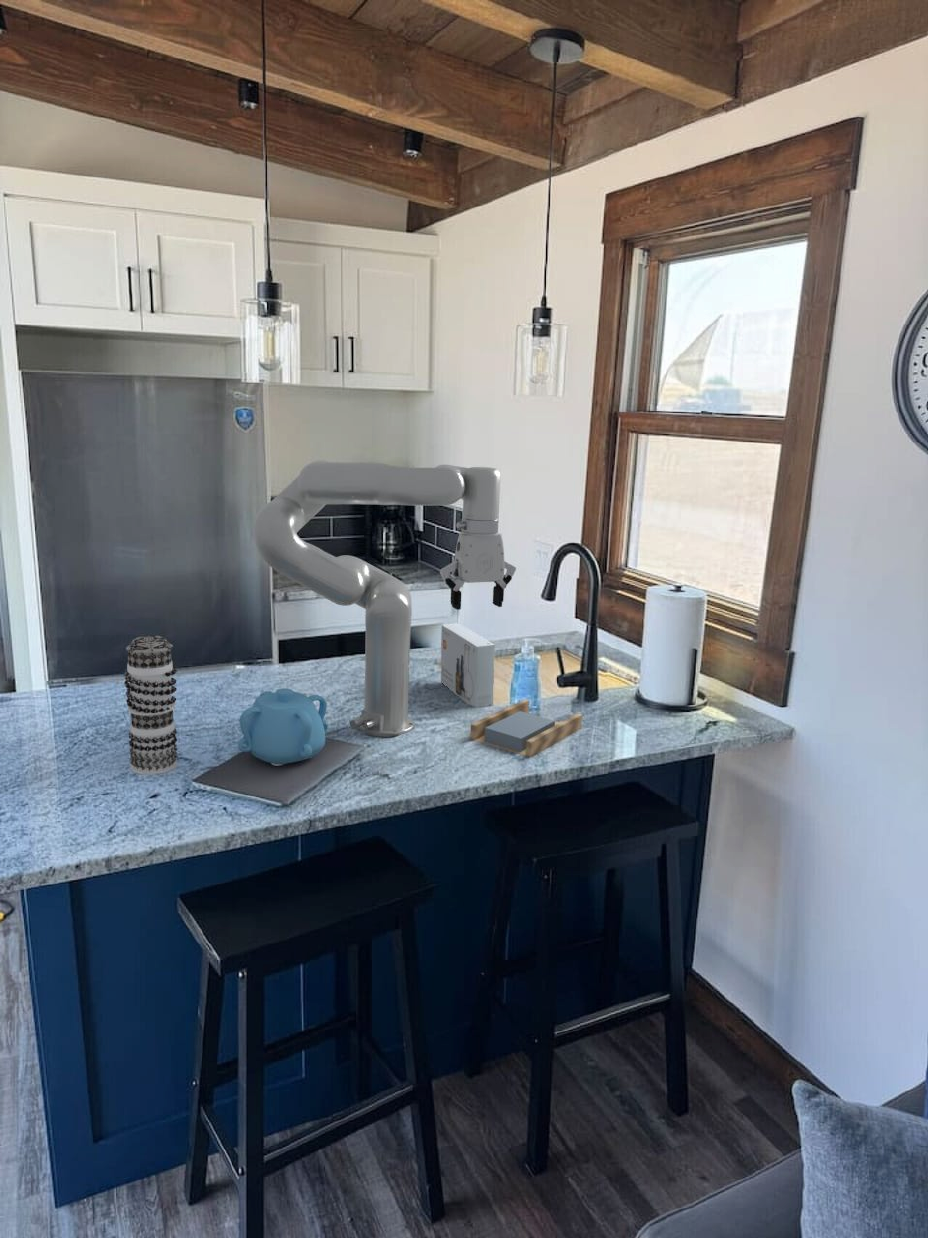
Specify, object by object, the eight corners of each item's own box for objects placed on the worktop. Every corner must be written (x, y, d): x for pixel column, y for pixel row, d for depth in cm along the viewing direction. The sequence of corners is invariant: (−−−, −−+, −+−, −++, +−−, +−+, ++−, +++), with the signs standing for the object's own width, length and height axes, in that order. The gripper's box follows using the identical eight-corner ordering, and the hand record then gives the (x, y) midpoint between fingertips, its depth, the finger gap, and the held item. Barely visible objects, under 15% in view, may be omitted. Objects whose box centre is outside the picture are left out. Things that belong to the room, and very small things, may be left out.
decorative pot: (227, 765, 162) (225, 698, 159) (263, 735, 178) (262, 673, 174) (307, 776, 159) (307, 708, 156) (336, 745, 175) (337, 682, 171)
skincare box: (438, 683, 218) (440, 623, 214) (457, 681, 220) (460, 622, 216) (473, 710, 199) (476, 645, 195) (493, 708, 201) (497, 643, 198)
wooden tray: (530, 759, 172) (531, 742, 171) (470, 741, 180) (470, 724, 179) (581, 730, 189) (582, 714, 188) (524, 714, 198) (525, 699, 197)
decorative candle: (162, 752, 167) (157, 629, 161) (189, 766, 161) (185, 639, 155) (118, 765, 160) (112, 638, 154) (145, 780, 154) (139, 648, 148)
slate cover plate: (520, 752, 174) (521, 738, 173) (484, 741, 179) (485, 727, 178) (554, 733, 185) (555, 720, 184) (519, 723, 190) (520, 711, 190)
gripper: (449, 530, 170) (446, 613, 174) (525, 528, 177) (520, 608, 181) (435, 525, 176) (432, 605, 180) (508, 524, 183) (505, 601, 187)
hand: (477, 607), depth 180 cm, fingers open, 9 cm apart
